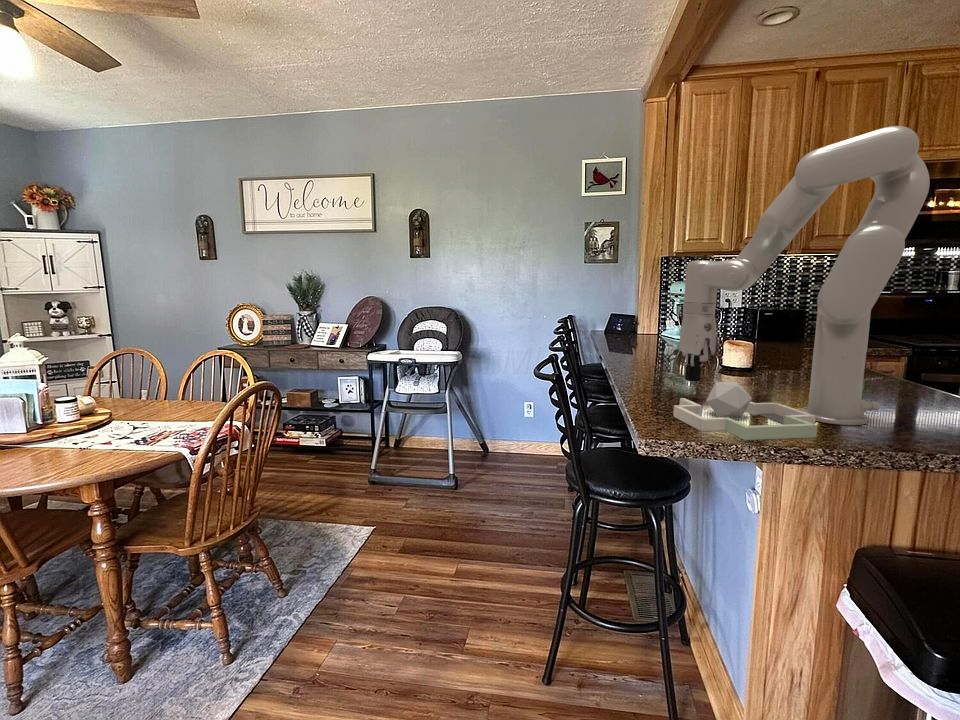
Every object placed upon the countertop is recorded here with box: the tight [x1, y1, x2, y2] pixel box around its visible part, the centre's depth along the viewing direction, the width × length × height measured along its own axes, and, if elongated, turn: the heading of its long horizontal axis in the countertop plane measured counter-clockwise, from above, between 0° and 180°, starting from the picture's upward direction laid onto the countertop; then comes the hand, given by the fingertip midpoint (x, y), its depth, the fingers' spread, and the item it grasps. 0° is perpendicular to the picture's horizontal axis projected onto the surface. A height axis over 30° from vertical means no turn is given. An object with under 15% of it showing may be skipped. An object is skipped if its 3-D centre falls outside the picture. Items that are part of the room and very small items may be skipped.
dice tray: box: [673, 397, 818, 441], centre depth 110 cm, size 25×26×2 cm
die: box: [705, 381, 753, 418], centre depth 114 cm, size 8×9×10 cm
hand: (692, 380), depth 129 cm, fingers closed
